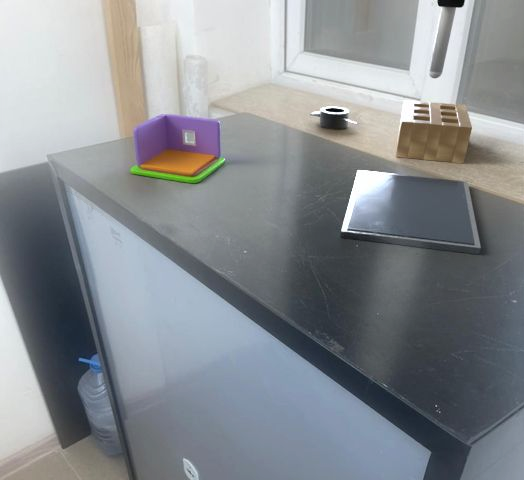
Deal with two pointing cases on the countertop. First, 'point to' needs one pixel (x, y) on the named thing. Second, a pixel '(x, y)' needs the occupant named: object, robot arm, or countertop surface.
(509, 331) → the countertop surface
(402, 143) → the pen stand
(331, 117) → the black ring with handles
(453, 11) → the stylus
